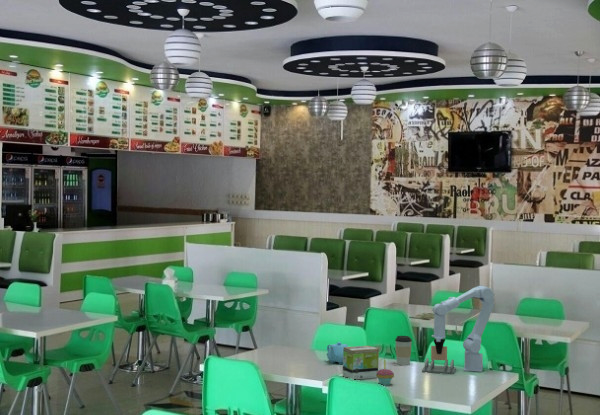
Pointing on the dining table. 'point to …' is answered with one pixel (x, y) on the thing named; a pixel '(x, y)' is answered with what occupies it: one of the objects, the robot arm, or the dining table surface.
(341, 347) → the teapot
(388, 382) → the cupcake
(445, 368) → the dish rack
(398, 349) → the coffee cup
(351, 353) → the tea box
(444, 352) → the tall tan block
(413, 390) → the dining table surface
